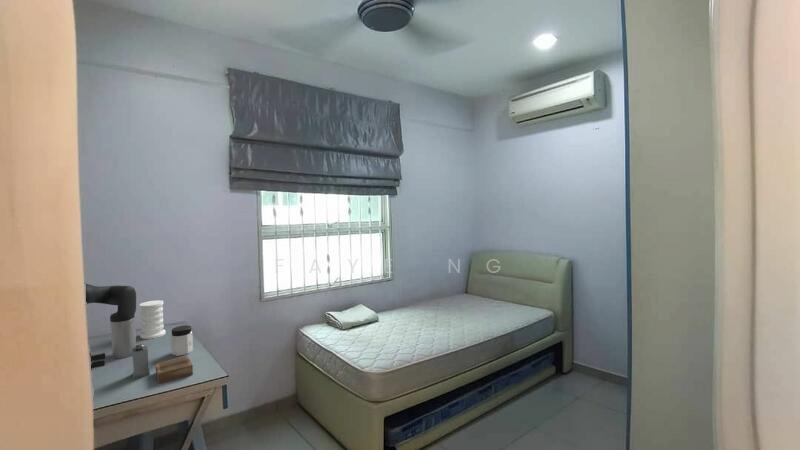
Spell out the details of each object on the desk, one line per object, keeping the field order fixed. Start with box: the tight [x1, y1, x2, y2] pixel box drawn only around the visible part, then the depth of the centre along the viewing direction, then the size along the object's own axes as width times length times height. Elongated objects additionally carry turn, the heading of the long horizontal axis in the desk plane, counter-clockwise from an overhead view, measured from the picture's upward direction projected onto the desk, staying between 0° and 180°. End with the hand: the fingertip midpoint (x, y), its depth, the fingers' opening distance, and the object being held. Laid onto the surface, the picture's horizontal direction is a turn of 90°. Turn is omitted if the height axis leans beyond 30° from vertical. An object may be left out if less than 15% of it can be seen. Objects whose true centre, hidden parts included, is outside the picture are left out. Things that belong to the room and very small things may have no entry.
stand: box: [155, 355, 194, 384], centre depth 152 cm, size 12×12×4 cm
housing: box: [132, 343, 151, 380], centre depth 151 cm, size 6×6×12 cm
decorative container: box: [139, 299, 166, 340], centre depth 196 cm, size 12×12×18 cm
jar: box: [170, 324, 194, 357], centre depth 173 cm, size 9×8×12 cm
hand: (105, 359), depth 143 cm, fingers open, 8 cm apart
